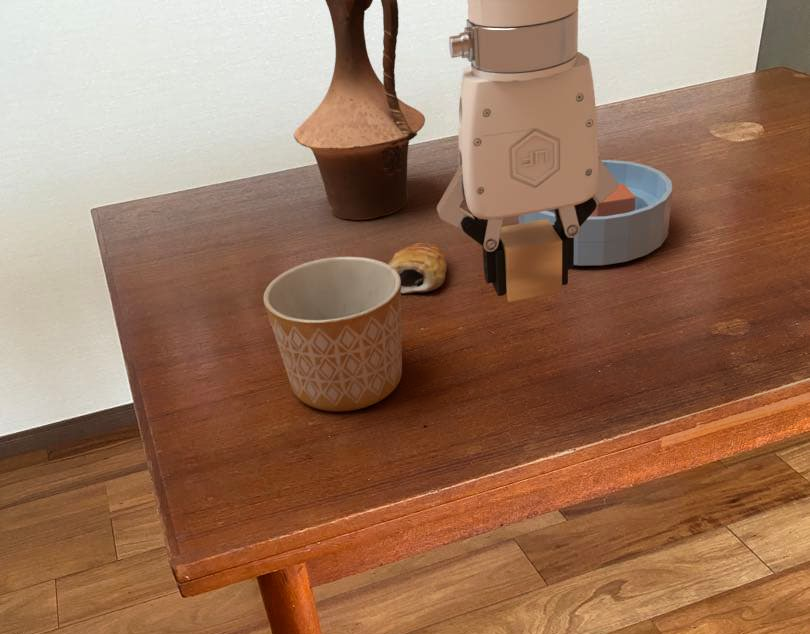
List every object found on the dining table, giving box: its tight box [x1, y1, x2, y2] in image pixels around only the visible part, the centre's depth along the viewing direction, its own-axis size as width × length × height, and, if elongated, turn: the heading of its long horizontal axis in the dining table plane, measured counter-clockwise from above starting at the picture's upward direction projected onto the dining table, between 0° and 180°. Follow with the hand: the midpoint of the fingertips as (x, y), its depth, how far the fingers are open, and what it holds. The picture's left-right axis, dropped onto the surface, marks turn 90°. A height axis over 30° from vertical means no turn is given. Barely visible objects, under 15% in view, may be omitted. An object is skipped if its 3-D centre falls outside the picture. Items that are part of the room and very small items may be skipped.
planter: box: [263, 256, 403, 413], centre depth 84 cm, size 13×13×10 cm
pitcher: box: [293, 0, 426, 221], centre depth 111 cm, size 18×17×28 cm
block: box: [500, 219, 563, 303], centre depth 73 cm, size 4×4×4 cm
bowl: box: [518, 159, 674, 267], centre depth 105 cm, size 17×17×6 cm
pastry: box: [387, 242, 448, 295], centre depth 102 cm, size 9×7×4 cm
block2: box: [589, 184, 636, 217], centre depth 105 cm, size 4×4×4 cm
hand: (528, 281), depth 74 cm, fingers closed on block, 4 cm apart
